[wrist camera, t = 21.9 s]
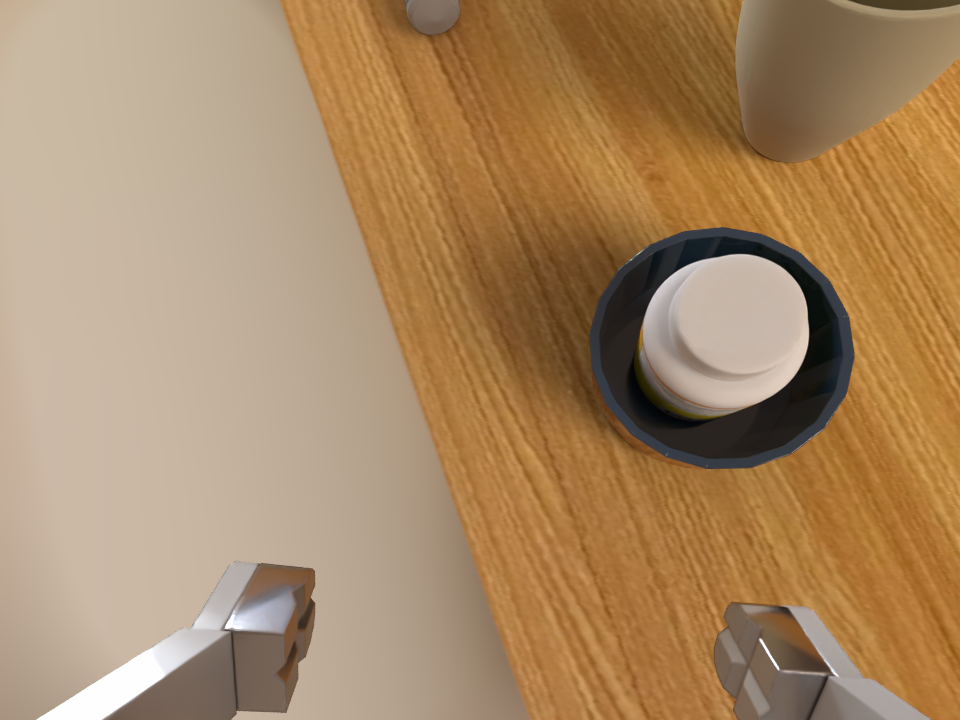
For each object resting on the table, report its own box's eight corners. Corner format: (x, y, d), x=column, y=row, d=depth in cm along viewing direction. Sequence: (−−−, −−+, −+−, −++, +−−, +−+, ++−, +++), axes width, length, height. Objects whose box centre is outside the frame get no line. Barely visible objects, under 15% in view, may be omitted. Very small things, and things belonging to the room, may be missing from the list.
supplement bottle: (710, 293, 28) (773, 198, 18) (774, 390, 26) (880, 345, 16) (610, 345, 28) (617, 282, 18) (667, 443, 27) (707, 431, 17)
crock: (811, 465, 26) (872, 465, 20) (598, 469, 28) (598, 471, 22) (784, 267, 28) (833, 215, 22) (587, 284, 30) (584, 240, 24)
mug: (947, 110, 27) (1199, -148, 16) (784, 234, 28) (913, 71, 16) (787, -18, 30) (901, -312, 19) (642, 96, 31) (668, -123, 19)
